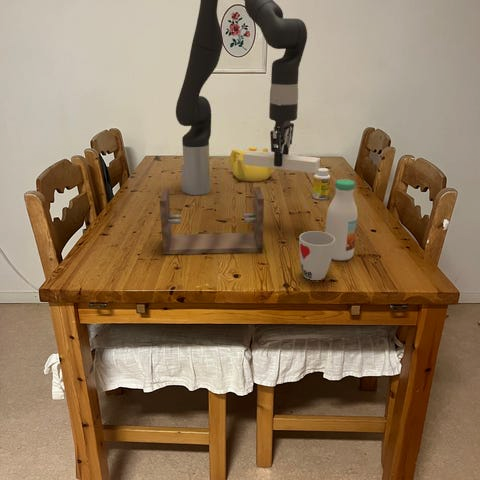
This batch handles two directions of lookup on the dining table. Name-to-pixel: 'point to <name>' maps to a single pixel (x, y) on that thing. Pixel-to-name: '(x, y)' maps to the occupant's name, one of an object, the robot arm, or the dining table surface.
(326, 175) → the supplement bottle
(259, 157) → the shelf board
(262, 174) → the teapot
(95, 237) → the dining table surface
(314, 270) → the cup
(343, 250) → the milk bottle
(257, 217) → the shelf frame
